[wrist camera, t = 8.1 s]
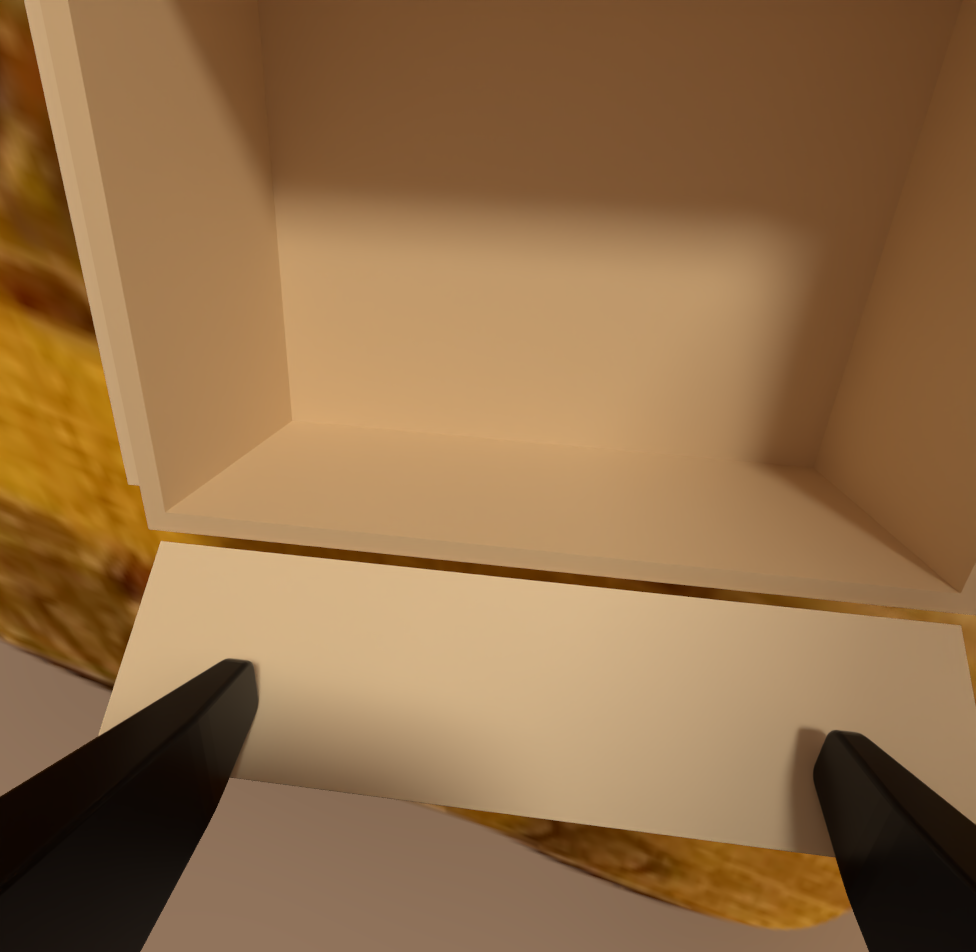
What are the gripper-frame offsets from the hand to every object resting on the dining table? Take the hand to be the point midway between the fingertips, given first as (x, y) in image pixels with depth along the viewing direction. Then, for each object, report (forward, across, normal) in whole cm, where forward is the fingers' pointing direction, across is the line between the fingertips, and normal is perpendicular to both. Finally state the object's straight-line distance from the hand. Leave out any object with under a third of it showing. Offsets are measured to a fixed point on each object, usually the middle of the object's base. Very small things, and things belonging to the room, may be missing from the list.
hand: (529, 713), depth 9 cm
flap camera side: (0, 0, 0) cm, 0 cm away
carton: (+8, 0, -7) cm, 11 cm away
